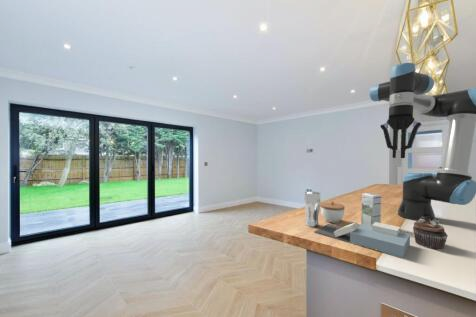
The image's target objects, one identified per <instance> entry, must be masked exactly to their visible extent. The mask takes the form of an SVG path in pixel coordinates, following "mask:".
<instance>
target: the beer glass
mask: <svg viewBox="0 0 476 317" xmlns="http://www.w3.org/2000/svg"><path fill="white" fill-rule="evenodd" d="M321 203H322V200H321V192H318V191H311V190H310V191H309V190H307V191H305V193H304V210H305V211H304V212H305V221H304V225H305V226H307V227H309V228H310V227H311V228H317V227H319V225H320V223H319V216H320V215H319V214H320V211H321Z"/></svg>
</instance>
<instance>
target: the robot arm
mask: <svg viewBox="0 0 476 317" xmlns="http://www.w3.org/2000/svg"><path fill="white" fill-rule="evenodd" d="M434 85H435V80H434V79H433V77H432V76H429V75H428V74H424V73H420V72H417V71H416V65H415V63H414V62H403V63H399V64H396V65H393V66H392V68H391V69H390V75H389V81H386V82H382V83H378V84H376V85H373V86H372V87H371V88H370V89H369V98H370V100H371V101H373V102H381V101H385V102H388V103H389V104H388V105H389V108H388V119H387V121H386V122H384V123H383V124H381V125H380V128H381V130H382V131H383V132H382V133H383V135H384V139H385V144H386V147H387V148H388V149H390V150H392V158H393V159H395V163H394V164H395V168H400V167H402V160H403V159H405V158H406V151H407V150H409V149H411V148H413V144H414V141H415V138H416V135H417V133H418V130H419V129H420V127H421V126H422V123H421V122H420V121H417V120H415V118H414V112H415V113H417V114H420V115H423V116H428V117H433V118H446V120H448V121H449V125H448V132H447V138H446V143H445V150H444V154H443V155H444V156H443V161H442V162H443V163H442V166H441V167H442V168H441V169H440V170H439V171H437V172H436V176H434V175H433V173H431V172H422V173H421V172H419V173H405V174H404V175H403V179H402V200H401V203H400V205H399V207H398V210H397V215H398V216H400V217H402V218H405V219H408V220H414V221H418V220H420V217H422V216H423V217H425V218H430V219H432V218H436V215H435V213H434V209H433V206H432V201H435V202H436V201H437V202H442V203H447V204H451V205H460V206H465V205H468V204H470V203H472V201H473V200H474V198H475V196H476V180H474V179H472V177H473V176H472V175H471V174H470V173H469V172H468V171H469V166H470V161H471V153H472V147H473V142H474V136H475V128H476V88H475V87H474V88H468V89H464V90H459V91H452V92H447V93H441V94H440V93H439V94H436V95H431V94H428V93H429V92H430V91H432V89H433V88H434ZM389 126H390V128H391V129H392V141H391V137H390V132H389ZM410 126H412V127H413V128H412V130H411V133H410V135H409V138H408V142H407V133H408V132H407V130H408V129H409V127H410ZM399 131H401V132H400V149H398V147H399V146H398V144H399V143H398V142H399Z"/></svg>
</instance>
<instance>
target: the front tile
mask: <svg viewBox="0 0 476 317" xmlns="http://www.w3.org/2000/svg"><path fill="white" fill-rule="evenodd" d="M359 225H360V224H359V223H357V221H355V222H353V223H350V224H347V225H345V226H341V227H342V228H339V229H337V230H336V231H334V232H333V233H334V234H335V236H336V237H338V236H341V235H344V234H346V233H349V232H352V231H355V230H356V229H357V228H359Z"/></svg>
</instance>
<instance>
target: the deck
mask: <svg viewBox="0 0 476 317" xmlns="http://www.w3.org/2000/svg"><path fill="white" fill-rule="evenodd" d="M358 225H359V228H357V229H356V230H355V231H352V232H350V243H349V244H352V243H353V245H356V244H357V245H356V246H359V245H361V246H360V247H362V246H364V247H363V248H366V247H368V248H367V249H369V248H373V249H377V250H380V251H381V252H380V251H379V252H380V253H383V254H386V255H391V256H394V257H397V258H401V259H404V257H405V255H406V253H407V252H408V251H409V250H408V249H409V247H410V246H411V245H410V244H411V234H410V233H406V232H401V231H400V233H399V234H398V236H393V235H389V234H385V233H381V232H377V231H372V226H370V225H366V224H361V223H360V224H358ZM373 249H372V250H373Z"/></svg>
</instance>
